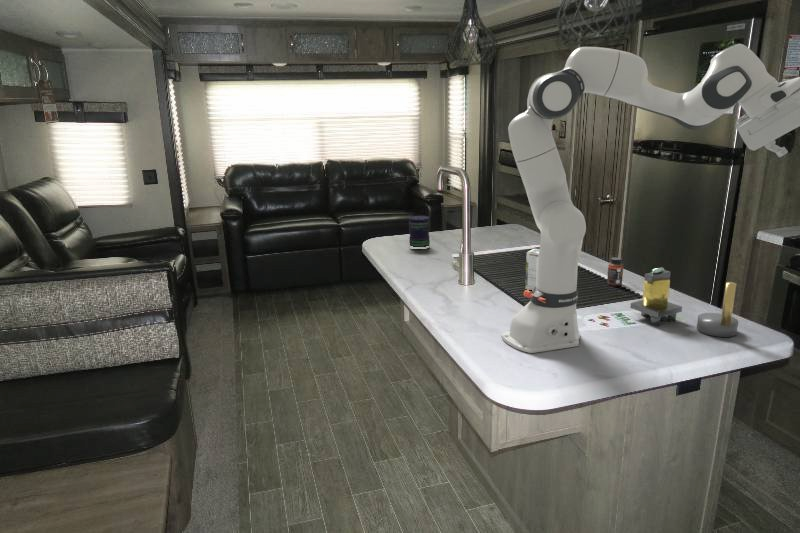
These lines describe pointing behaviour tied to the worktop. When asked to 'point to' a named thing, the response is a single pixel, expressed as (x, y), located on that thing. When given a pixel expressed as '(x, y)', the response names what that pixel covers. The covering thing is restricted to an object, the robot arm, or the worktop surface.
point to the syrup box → (531, 269)
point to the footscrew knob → (720, 317)
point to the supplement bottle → (615, 272)
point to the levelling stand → (657, 297)
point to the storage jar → (419, 231)
